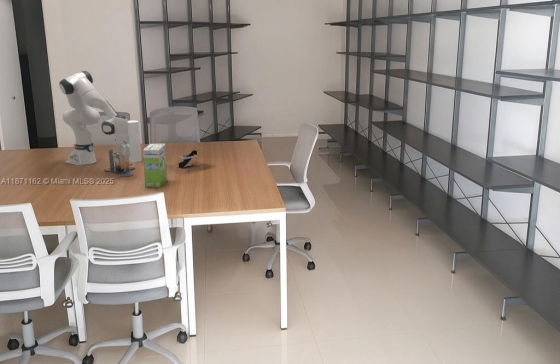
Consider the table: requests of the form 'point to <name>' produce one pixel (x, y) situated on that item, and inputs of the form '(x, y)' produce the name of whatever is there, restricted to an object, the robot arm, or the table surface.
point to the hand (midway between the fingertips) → (124, 160)
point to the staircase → (187, 159)
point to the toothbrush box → (155, 165)
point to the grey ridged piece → (117, 161)
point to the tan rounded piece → (123, 163)
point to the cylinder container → (134, 141)
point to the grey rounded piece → (125, 174)
